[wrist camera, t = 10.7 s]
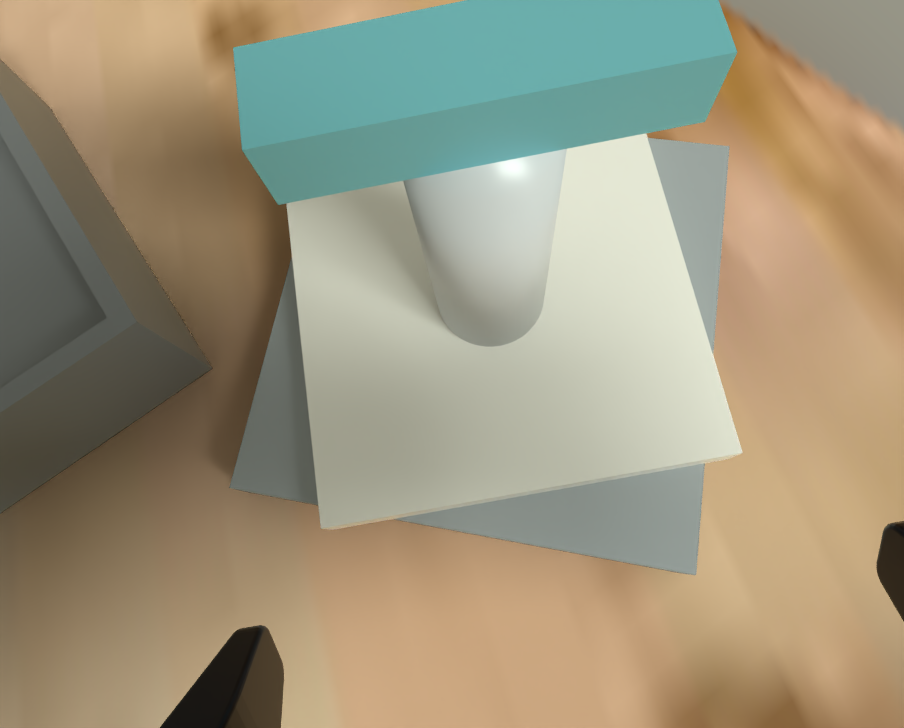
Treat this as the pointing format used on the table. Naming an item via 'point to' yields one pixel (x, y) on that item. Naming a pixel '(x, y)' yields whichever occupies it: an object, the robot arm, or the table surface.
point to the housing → (71, 306)
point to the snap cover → (490, 246)
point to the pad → (542, 514)
